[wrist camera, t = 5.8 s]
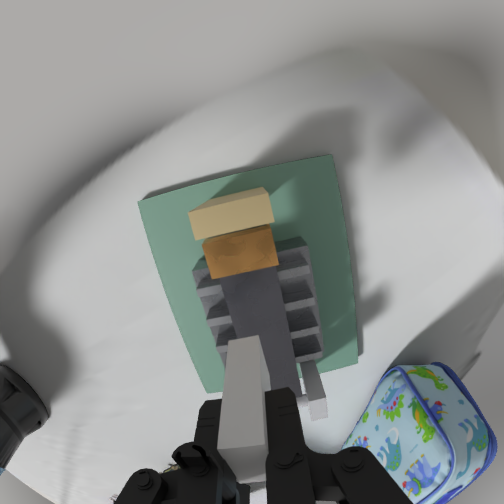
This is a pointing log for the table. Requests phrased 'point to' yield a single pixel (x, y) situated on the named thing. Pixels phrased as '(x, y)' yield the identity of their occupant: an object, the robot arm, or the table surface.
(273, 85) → the table surface
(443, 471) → the lunch box
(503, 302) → the table surface
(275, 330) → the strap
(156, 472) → the robot arm
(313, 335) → the heatsink
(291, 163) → the board
